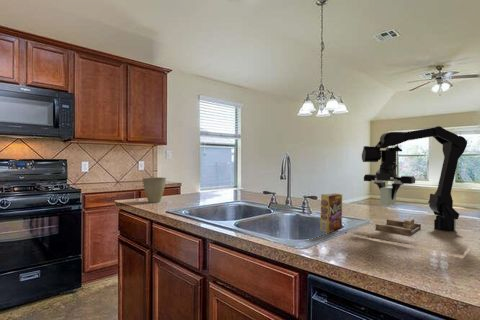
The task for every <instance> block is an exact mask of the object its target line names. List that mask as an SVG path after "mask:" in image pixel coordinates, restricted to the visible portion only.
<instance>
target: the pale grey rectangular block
mask: <svg viewBox="0 0 480 320" xmlns="http://www.w3.org/2000/svg"><path fill="white" fill-rule="evenodd" d="M379 191H380V192H379V193H380V194H379V196H380V197H379V199H380V200H379V205H380V206H384V207H385V206H386V207H388V206H391V205H394V204H397V194H396V195H395V197H394V199H393V200H392V185H389V186H385V187H383V188H380V189H379Z"/></svg>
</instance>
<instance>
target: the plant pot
mask: <svg viewBox="0 0 480 320" xmlns="http://www.w3.org/2000/svg"><path fill="white" fill-rule="evenodd" d="M166 178H167V177H158V176H157V177H142V184H143V188H144V193H145V196H146V198H147V199H146V200H147V202H148V203H152V204H154V203H156V202H157V203H160V202H161V200H162V198H163V196H164V195H163V194H164V191H165V186H166V182H167V181H166V180H167V179H166Z"/></svg>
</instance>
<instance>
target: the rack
mask: <svg viewBox="0 0 480 320" xmlns="http://www.w3.org/2000/svg"><path fill="white" fill-rule="evenodd" d="M403 224H404V221H403V220H397V219H388V218H387V219H386V224H379V223H376V224H375V230H379V231H382V232H389V233H394V234H399V235H407V236H412V235H414V234H416V233H418V232H419V231H421V229H422V224H421V223H415V222H414V226H415V229H414V230H411V229H405V228H403Z"/></svg>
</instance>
